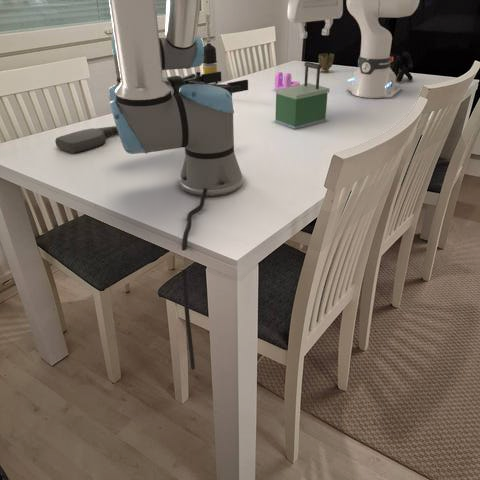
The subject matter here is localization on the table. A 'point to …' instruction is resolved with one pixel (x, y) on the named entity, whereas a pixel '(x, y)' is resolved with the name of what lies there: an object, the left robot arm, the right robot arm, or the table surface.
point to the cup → (326, 61)
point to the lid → (305, 86)
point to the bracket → (287, 81)
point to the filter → (209, 53)
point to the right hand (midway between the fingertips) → (314, 36)
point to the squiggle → (401, 66)
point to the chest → (300, 110)
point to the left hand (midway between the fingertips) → (233, 80)
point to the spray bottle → (84, 139)
